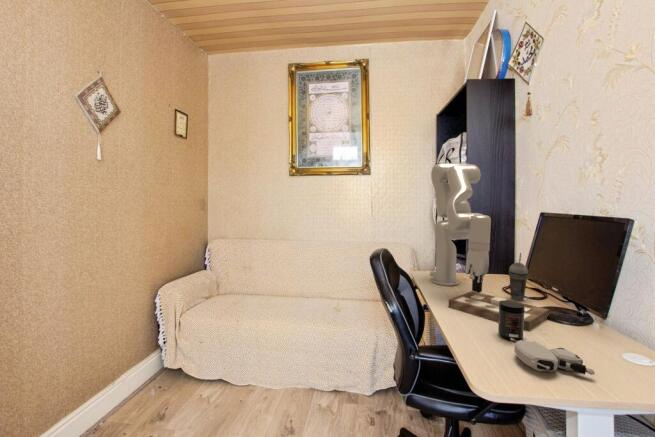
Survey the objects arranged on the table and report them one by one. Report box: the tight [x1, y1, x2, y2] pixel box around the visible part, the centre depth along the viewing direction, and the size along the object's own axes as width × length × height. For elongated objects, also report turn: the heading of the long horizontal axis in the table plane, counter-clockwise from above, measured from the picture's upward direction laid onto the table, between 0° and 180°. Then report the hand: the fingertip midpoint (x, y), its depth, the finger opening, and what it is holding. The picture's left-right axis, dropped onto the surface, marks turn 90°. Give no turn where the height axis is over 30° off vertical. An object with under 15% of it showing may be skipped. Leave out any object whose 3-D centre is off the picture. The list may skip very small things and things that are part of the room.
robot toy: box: [510, 338, 595, 376], centre depth 78 cm, size 12×4×15 cm
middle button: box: [491, 296, 508, 305], centre depth 116 cm, size 4×4×2 cm
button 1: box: [470, 295, 485, 301], centre depth 122 cm, size 4×4×2 cm
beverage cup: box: [507, 252, 529, 302], centre depth 129 cm, size 7×7×20 cm
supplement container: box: [497, 299, 525, 342], centre depth 94 cm, size 7×7×10 cm
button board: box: [448, 290, 550, 332], centre depth 115 cm, size 28×18×3 cm, turn 38°
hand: (476, 291), depth 123 cm, fingers closed
